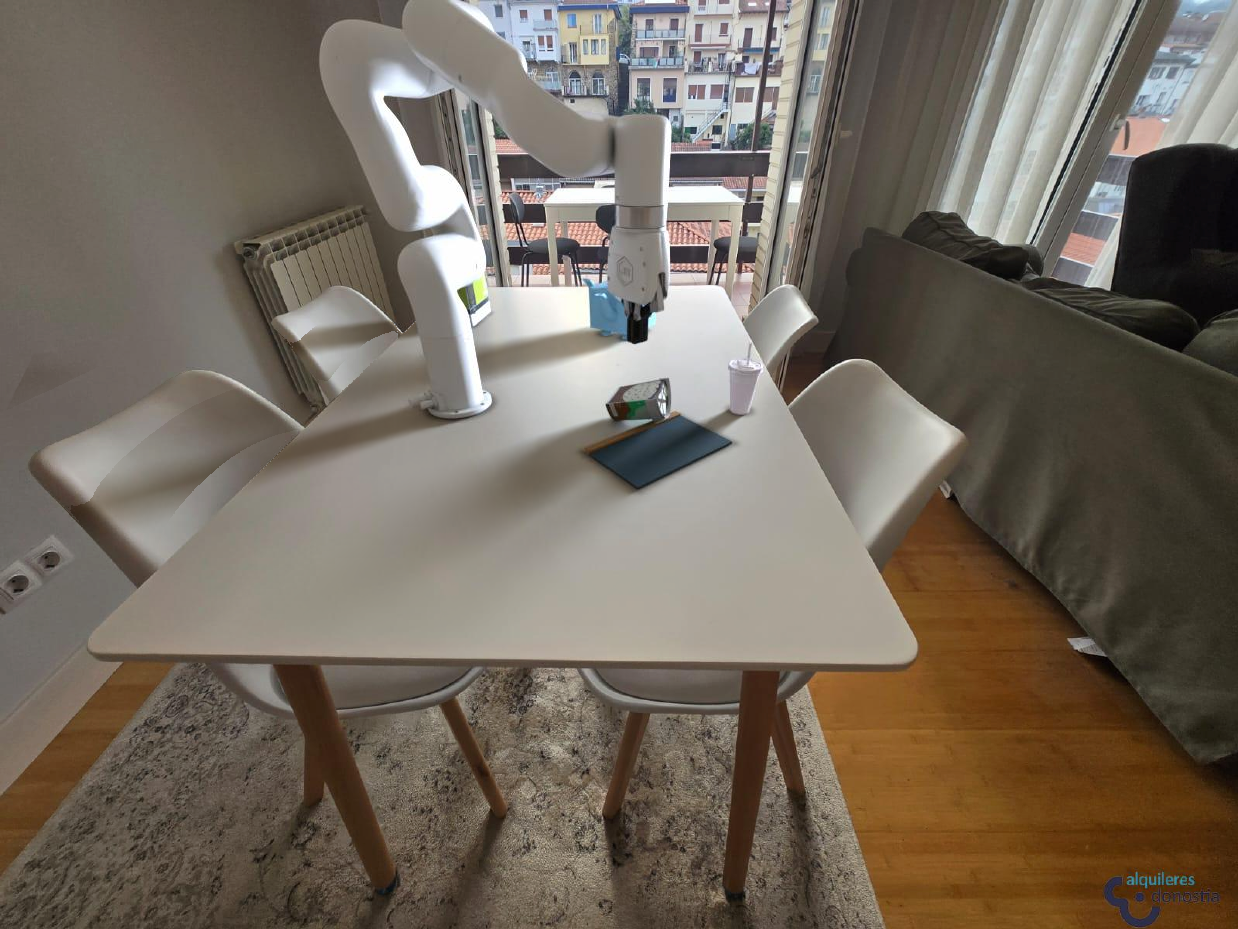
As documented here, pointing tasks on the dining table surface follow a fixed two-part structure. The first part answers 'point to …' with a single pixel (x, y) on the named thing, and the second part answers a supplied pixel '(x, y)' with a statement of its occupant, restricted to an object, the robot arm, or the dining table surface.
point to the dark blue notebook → (656, 449)
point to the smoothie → (743, 382)
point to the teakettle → (608, 311)
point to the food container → (641, 401)
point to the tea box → (475, 300)
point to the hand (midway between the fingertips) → (637, 341)
